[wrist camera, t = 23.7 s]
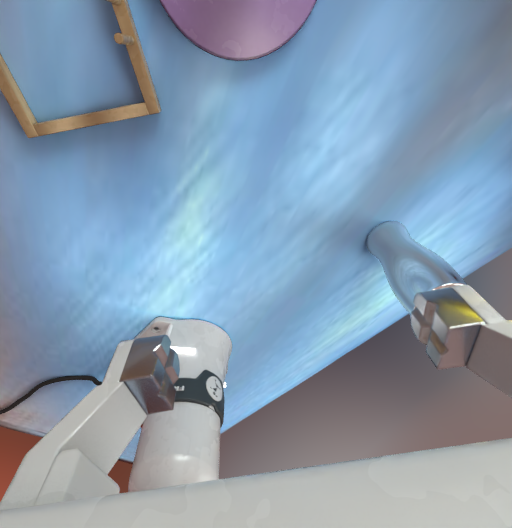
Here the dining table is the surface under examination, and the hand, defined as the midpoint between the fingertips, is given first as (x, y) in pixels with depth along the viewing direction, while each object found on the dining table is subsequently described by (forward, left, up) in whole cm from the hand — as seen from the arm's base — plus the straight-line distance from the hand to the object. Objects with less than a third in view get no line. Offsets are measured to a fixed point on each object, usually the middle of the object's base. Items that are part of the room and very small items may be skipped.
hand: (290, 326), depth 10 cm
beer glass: (+8, -24, -31) cm, 40 cm away
